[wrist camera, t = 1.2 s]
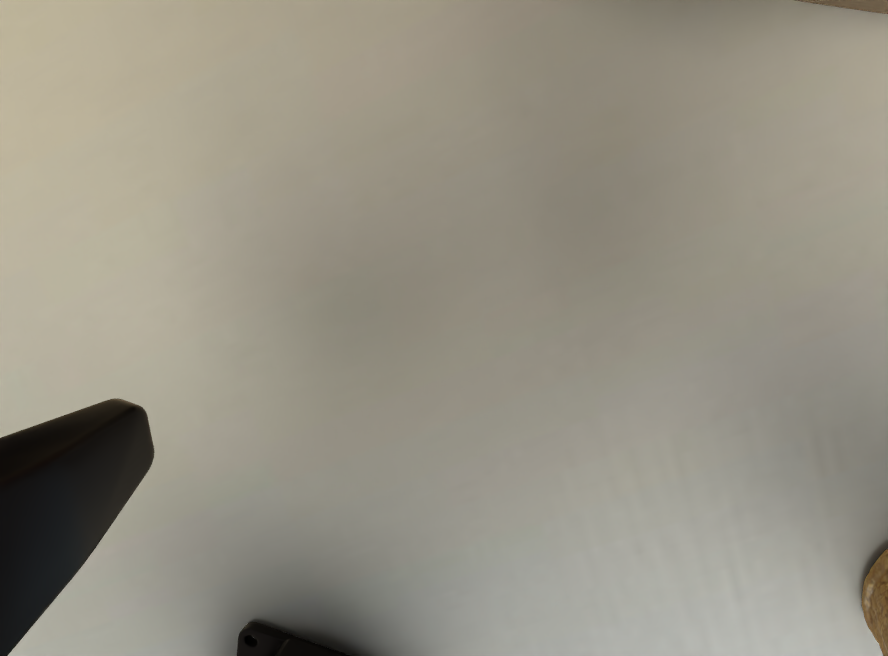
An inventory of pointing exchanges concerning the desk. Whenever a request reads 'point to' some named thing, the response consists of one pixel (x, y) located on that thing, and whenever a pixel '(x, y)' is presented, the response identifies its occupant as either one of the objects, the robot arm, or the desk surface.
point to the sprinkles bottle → (877, 601)
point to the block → (856, 4)
